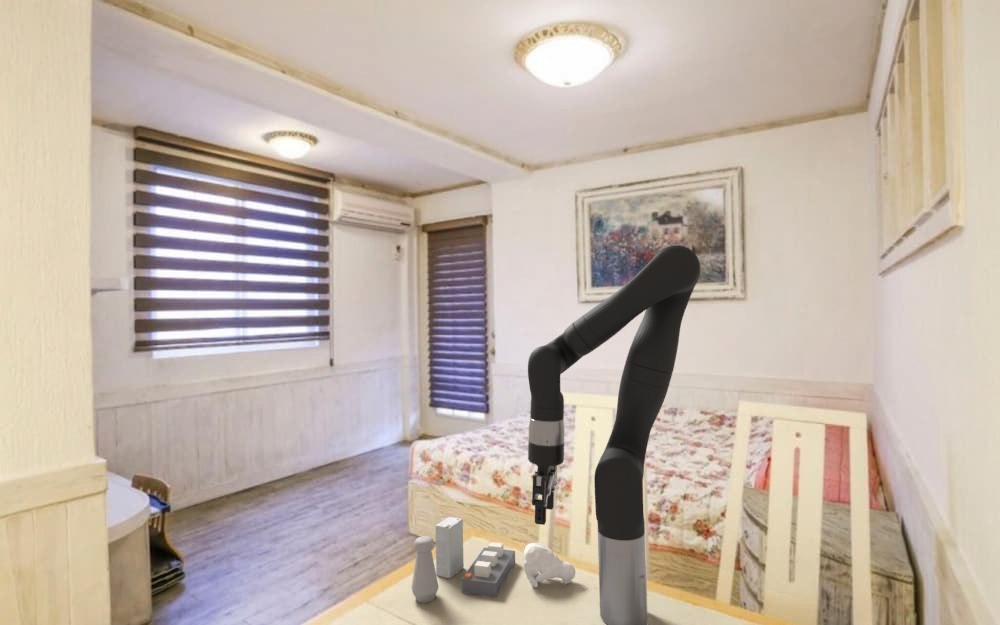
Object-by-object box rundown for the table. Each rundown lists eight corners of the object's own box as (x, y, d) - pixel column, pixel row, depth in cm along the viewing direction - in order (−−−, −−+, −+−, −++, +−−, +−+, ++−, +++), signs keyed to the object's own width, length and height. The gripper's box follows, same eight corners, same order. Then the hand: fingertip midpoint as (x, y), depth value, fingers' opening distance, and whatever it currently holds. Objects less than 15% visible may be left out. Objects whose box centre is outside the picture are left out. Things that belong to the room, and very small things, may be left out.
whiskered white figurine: (525, 537, 124) (576, 543, 122) (523, 572, 124) (574, 580, 122) (522, 549, 117) (576, 556, 116) (520, 586, 118) (574, 594, 116)
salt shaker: (433, 606, 111) (431, 545, 111) (408, 604, 112) (406, 543, 112) (442, 592, 117) (440, 533, 117) (417, 589, 118) (416, 532, 118)
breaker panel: (515, 562, 129) (514, 541, 129) (496, 597, 114) (495, 572, 114) (484, 559, 132) (483, 537, 132) (461, 592, 116) (461, 568, 116)
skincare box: (449, 564, 129) (448, 515, 129) (464, 568, 127) (463, 518, 127) (435, 576, 124) (433, 524, 124) (451, 580, 122) (449, 527, 122)
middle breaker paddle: (497, 562, 123) (497, 552, 123) (494, 566, 121) (494, 556, 121) (484, 560, 124) (484, 550, 124) (481, 565, 122) (481, 554, 122)
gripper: (558, 449, 103) (556, 532, 103) (569, 433, 116) (567, 506, 117) (520, 446, 105) (518, 526, 105) (536, 430, 119) (534, 501, 119)
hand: (544, 515), depth 111 cm, fingers open, 8 cm apart
